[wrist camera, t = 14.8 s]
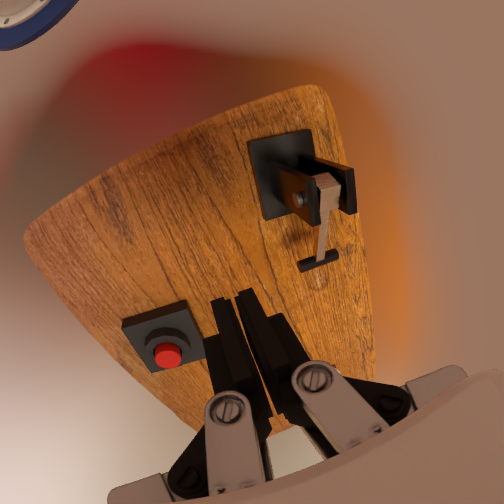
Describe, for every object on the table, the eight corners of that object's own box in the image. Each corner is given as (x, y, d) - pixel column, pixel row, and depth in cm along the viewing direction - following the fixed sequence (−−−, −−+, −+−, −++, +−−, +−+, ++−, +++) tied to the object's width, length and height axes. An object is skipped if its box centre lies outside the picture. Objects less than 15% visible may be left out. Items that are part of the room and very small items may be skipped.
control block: (151, 363, 42) (151, 381, 39) (122, 319, 37) (119, 337, 34) (207, 347, 43) (211, 365, 40) (185, 299, 39) (188, 317, 35)
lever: (330, 250, 35) (340, 264, 34) (295, 263, 34) (303, 278, 33) (340, 168, 26) (354, 181, 25) (294, 180, 25) (306, 194, 24)
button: (161, 362, 38) (161, 370, 36) (150, 345, 36) (150, 354, 35) (183, 355, 38) (184, 364, 37) (174, 339, 37) (175, 347, 35)
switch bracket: (318, 201, 38) (370, 234, 27) (263, 218, 37) (301, 259, 26) (306, 128, 33) (363, 136, 23) (245, 142, 32) (282, 152, 22)
